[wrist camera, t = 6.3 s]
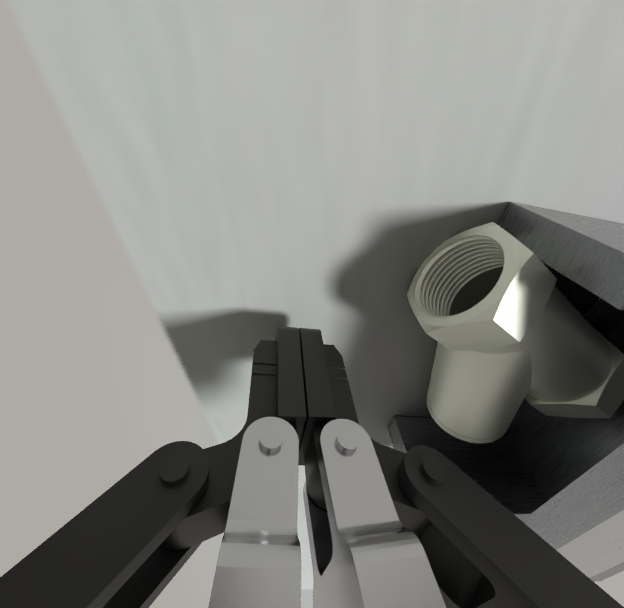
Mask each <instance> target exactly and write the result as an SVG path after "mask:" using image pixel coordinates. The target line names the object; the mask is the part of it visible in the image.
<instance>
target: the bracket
mask: <svg viewBox="0 0 624 608" xmlns="http://www.w3.org/2000/svg"><path fill="white" fill-rule="evenodd" d="M498 226H500V227H501V228H503V229H504V230H505V231H507V232H508V233H509V234H511V235H512V236H513V237H515V238H516V239H517V240H518V241H520V242H521V243H522V244H523V245H525V246H526V247H527V248H528V249H530V250H531V251H532V252H533V253H534V254H535V255H536V256H537V257H538V258H539V259H540V260H541V261H542V262H543V263H545V264H547V265H548V266H550V267H551V268H553V269H555V270H556V271H558V272H559V273H561V274H563V275H564V276H566V277H568V278H569V279H571V280H572V281H574V282H576V283H577V284H579V285H580V286H582V287H584V288H585V289H587V290H589V291H590V292H592V293H593V294H595V295H597V296H598V297H599V298H598V300H597V301H596V302H595V303H594V304H593V305H592V307H591V308H590V309H589V310H588V311H587V313H586V314H585V315H584V316H583V317H584V318H585V319H586V320H587V321H588V322H589V324H590V325H591V326H592V327H593V328H594V329H595V330H597V331H598V332H599V333H600V334H601V335H603V336H604V337H605V338H606V339H607V340H608V341H609V342H611V343H612V344H613V345H614V346H615V347H616V348H617V349H619V350H620V351H621V352H622V353H623V354H624V224H621V223H616V222H611V221H606V220H601V219H596V218H590V217H585V216H580V215H575V214H570V213H565V212H560V211H554V210H549V209H544V208H539V207H534V206H529V205H524V204H518V203H513V202H510V203H509V205H508V207H507V209H506V211H505V213H504V214H503V216H502V218H501V220H500V222H499V224H498ZM388 431H389V434H390V437H391V440H392V443H393V446H394V449H395V450H398V451H401V452H404V453H407V452H408V451H409V450H410V449H411V448H413V447H415V446H428V447H431V448H433V449H436V450H437V451H439V452H440V453H442V454H443V455H444V456H446V457H447V458H448V459H449V460H450V461H451V462H453V463H454V464H455V465H456V466H457V467H459V468H460V469H461V470H462V471H463V472H464V473H466V474H467V475H468V476H469V477H470V478H472V479H473V480H474V481H475V482H476V483H477V484H479V485H480V486H481V487H482V488H483V489H484V490H486V491H487V492H488V493H489V494H490V495H492V496H493V497H494V498H495V499H496V500H497V501H499V502H500V503H501V504H502V505H503V506H505V507H506V508H507V509H508V510H509V511H510V512H512V513H513V514H514V515H515V516H516V517H518V518H519V519H520V520H521V521H522V522H523V523H525V524H526V525H527V526H528V527H529V528H531V529H532V530H533V531H534V532H535V533H536V534H538V535H539V536H540V537H541V538H542V539H544V540H545V541H546V542H547V543H548V544H549V545H551V546H552V547H553V548H554V549H555V550H557V551H558V552H559V553H560V554H561V555H562V556H564V557H565V558H566V559H567V560H568V561H570V562H571V563H572V564H573V565H574V566H575V567H577V568H578V569H579V570H580V571H581V572H583V573H584V574H585V575H586V576H587V577H588V578H590V579H591V580H592V581H593V582H594V581H602V580H604V579H606V578H608V577H610V576H613V575H615V574H617V573H619V572H622V571H624V400H623V402H622V403H621V405H620V406H619V408H618V409H617V410H616V412H615V413H614V414H613V415H612V417H611V418H571V417H557V416H547V415H544V414H543V413H541V412H540V411H538V410H537V409H536V408H534V407H533V406H531V405H530V404H529V403H528V402H527V400H526V399H525V398H524V399H523V401H522V403H521V405H520V407H519V409H518V411H517V412H516V414H515V416H514V418H513V420H512V422H511V424H510V426H509V427H508V429H507V431H506V433H505V434H504V435H503V436H502V437H501V438H499V439H497V440H495V441H493V442H489V443H471V442H467V441H463V440H460V439H458V438H456V437H454V436H452V435H450V434H449V433H447V432H446V431H444V430H443V429H442V428H441V427H440V426H439V425H438V424H437V423H436V422H435V421H434V419H433V418H422V417H398V416H394V417H393V419H392V421H391V422H390V424H389V426H388Z"/></svg>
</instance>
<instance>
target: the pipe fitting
mask: <svg viewBox="0 0 624 608" xmlns="http://www.w3.org/2000/svg"><path fill="white" fill-rule="evenodd" d="M556 281H557V278H556V277H555V276H554V275H553V274H552V273H551V272H550V271H549V269H548V268H547V267H546V266H545V265H544V264H543V263H542V262H541V260H540V259H539V258H538V257H537V256H536V255H535V254H534V253H533V252H532V251H531V250H530V249H528V248H527V247H526V246H525V245H523V244H522V243H521V242H520V241H518V240H517V239H516V238H515V237H513V236H512V235H511V234H509V233H508V232H507V231H505V230H504V229H503V228H501V227H500V226H498V225H497V224H495V223H494V222H491V223H487V224H484V225H480V226H477V227H474V228H471V229H469V230H466V231H463V232H461V233H459V234H457V235H455V236H453V237H451V238H449V239H447V240H446V241H444V242H443V243H442V244H441V245H439V246H438V247H437V248H436V249H435V250H434V251H433V252H432V253H431V254H430V255H429V256H428V257H427V258H426V259H425V260H424V262H423V263H422V264H421V266H420V268H419V269H418V271H417V273H416V274H415V277H414V279H413V281H412V283H411V285H410V288H409V291H408V293H407V297H408V301H409V303H410V306H411V308H412V310H413V312H414V314H415V316H416V318H417V320H418V321H419V323H420V325H421V326H422V328H423V330H424V331H425V333H426V334H428V335H429V336H430V337H432V338H433V339H435V340H436V341H438V344H437V349H436V353H435V359H434V364H433V369H432V374H431V379H430V384H429V389H428V393H427V406H428V410H429V412H430V414H431V416H432V418H433V419H434V421H435V422H436V423H437V424H438V425H439V426H440V427H441V428H442V429H443V430H444V431H446V432H447V433H449V434H450V435H452V436H454V437H456V438H458V439H460V440H463V441H467V442H471V443H489V442H493V441H495V440H497V439H499V438H501V437H502V436H503V435H504V434H505V433H506V431H507V429H508V427H509V426H510V424H511V422H512V420H513V418H514V416H515V414H516V412H517V411H518V409H519V407H520V405H521V403H522V401H523V399H524V398H525V399H526V400H527V402H528V403H529V404H530V405H531V406H533V407H534V408H536V409H537V410H538V411H540V412H541V413H543V414H544V415H547V416H557V417H571V418H611V417H612V415H613V414H614V413H615V412H616V410H617V409H618V408H619V406H620V405H621V403H622V402H623V400H624V354H623V353H622V352H621V351H620V350H619V349H617V348H616V347H615V346H614V345H613V344H612V343H611V342H609V341H608V340H607V339H606V338H605V337H604V336H603V335H601V334H600V333H599V332H598V331H597V330H595V329H594V328H593V327H592V326H591V325H590V324H589V322H588V321H587V320H586V319H585V318H584V317H583V316H582V315H581V314H580V313H579V312H578V310H577V309H576V308H575V307H574V306H573V305H572V304H571V303H570V302H569V301H568V300H567V298H566V297H565V296H564V295H563V294H562V293H561V292H560V291H559V290H558V289H557V288H556V287H555V284H556Z"/></svg>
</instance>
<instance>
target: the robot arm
mask: <svg viewBox="0 0 624 608" xmlns="http://www.w3.org/2000/svg"><path fill="white" fill-rule="evenodd" d="M298 465H305V474H306V481H305V484H304V488H303V497H304V505H305V513H306V520H307V528H308V536H309V543H310V551H311V559H312V566H313V576H314V587H313V608H624V607H623V606H621V605H620V604H619V603H618V602H617V601H615V600H614V599H613V598H612V597H611V596H610V595H608V594H607V593H606V592H605V591H604V590H603V589H601V588H600V587H599V586H598V585H597V584H595V583H594V582H593V581H592V580H591V579H590V578H588V577H587V576H586V575H585V574H584V573H583V572H581V571H580V570H579V569H578V568H577V567H575V566H574V565H573V564H572V563H571V562H570V561H568V560H567V559H566V558H565V557H564V556H562V555H561V554H560V553H559V552H558V551H557V550H555V549H554V548H553V547H552V546H551V545H549V544H548V543H547V542H546V541H545V540H544V539H542V538H541V537H540V536H539V535H538V534H536V533H535V532H534V531H533V530H532V529H531V528H529V527H528V526H527V525H526V524H525V523H523V522H522V521H521V520H520V519H519V518H518V517H516V516H515V515H514V514H513V513H512V512H510V511H509V510H508V509H507V508H506V507H505V506H503V505H502V504H501V503H500V502H499V501H497V500H496V499H495V498H494V497H493V496H492V495H490V494H489V493H488V492H487V491H486V490H484V489H483V488H482V487H481V486H480V485H479V484H477V483H476V482H475V481H474V480H473V479H472V478H470V477H469V476H468V475H467V474H466V473H464V472H463V471H462V470H461V469H460V468H459V467H457V466H456V465H455V464H454V463H453V462H451V461H450V460H449V459H448V458H447V457H446V456H444V455H443V454H442V453H440V452H439V451H437V450H436V449H433V448H431V447H428V446H415V447H413V448H411V449H410V450H409V451H408V452H407V453H404V452H401V451H398V450H395V449H392V448H389V447H386V446H384V445H381V444H379V443H377V442H375V441H374V440H372V439H371V438H370V436H369V435H368V433H367V432H366V431H365V429H364V428H363V427H361V426H360V424H359V422H358V419H357V416H356V411H355V407H354V403H353V399H352V395H351V391H350V387H349V383H348V381H347V375H346V371H345V367H344V363H343V358H342V355H341V354H340V353H339V352H338V350H337V349H336V348H335V346H334V345H325V344H323V340H322V335H321V331H320V330H318V329H306V328H299V329H298V328H292V327H280V326H278V327H277V332H276V339H275V341H268V340H261V341H260V343H259V344H258V345H257V347H256V348H255V350H254V356H253V366H252V376H251V387H250V397H249V407H248V416H247V421H246V423H245V425H244V427H243V429H242V430H241V431H240V432H239V433H238V434H237V435H236V436H235V437H234V438H232V439H231V440H229V441H227V442H225V443H222V444H219V445H216V446H212V447H209V448H206V449H202V448H201V447H200V446H198V445H197V444H195V443H192V442H188V441H179V442H173V443H170V444H167V445H164V446H163V447H161V448H159V449H158V450H156V451H155V452H154V453H152V454H151V455H150V456H149V457H148V458H146V459H145V460H144V461H143V462H141V463H140V464H139V465H138V466H136V467H135V468H134V469H133V470H132V471H130V472H129V473H128V474H127V475H126V476H124V477H123V478H122V479H121V480H120V481H118V482H117V483H116V484H114V485H113V486H112V487H111V488H110V489H108V490H107V491H106V492H105V493H103V494H102V495H101V496H100V497H98V498H97V499H96V500H95V501H94V502H92V503H91V504H90V505H89V506H87V507H86V508H85V509H84V510H83V511H81V512H80V513H79V514H78V515H77V516H75V517H74V518H73V519H71V520H70V521H69V522H68V523H67V524H65V525H64V526H63V527H62V528H60V529H59V530H58V531H57V532H56V533H54V534H53V535H52V536H51V537H49V538H48V539H47V540H46V541H45V542H43V543H42V544H41V545H40V546H38V547H37V548H36V549H35V550H34V551H32V552H31V553H30V554H29V555H27V556H26V557H25V558H24V559H22V560H21V561H20V562H19V563H18V564H16V565H15V566H14V567H13V568H12V569H10V570H9V571H8V572H7V573H5V574H4V575H3V576H2V577H0V608H149V606H150V605H151V604H152V603H153V602H154V600H155V599H156V598H157V597H158V595H159V594H160V593H161V592H162V591H163V589H164V588H165V587H166V586H167V584H168V583H169V582H170V581H171V580H172V578H173V577H174V576H175V575H176V573H177V572H178V571H179V570H180V569H181V567H182V566H183V565H184V563H186V561H187V560H188V559H189V558H190V556H191V555H192V554H193V553H194V551H195V550H196V549H197V548H198V547H199V545H200V544H201V543H202V542H203V541H205V540H207V539H209V538H211V537H214V536H216V535H219V534H221V533H223V532H225V533H224V536H223V539H222V543H221V547H220V551H219V556H218V561H217V566H216V572H215V576H214V582H213V587H212V592H211V597H210V602H209V608H301V549H300V542H299V539H298V535H297V508H298Z"/></svg>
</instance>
